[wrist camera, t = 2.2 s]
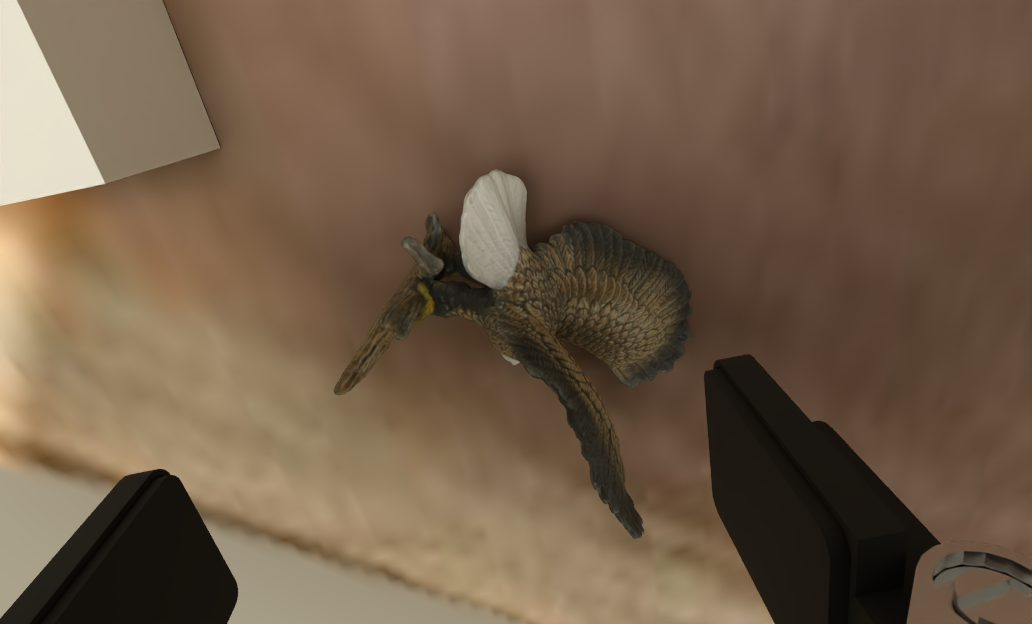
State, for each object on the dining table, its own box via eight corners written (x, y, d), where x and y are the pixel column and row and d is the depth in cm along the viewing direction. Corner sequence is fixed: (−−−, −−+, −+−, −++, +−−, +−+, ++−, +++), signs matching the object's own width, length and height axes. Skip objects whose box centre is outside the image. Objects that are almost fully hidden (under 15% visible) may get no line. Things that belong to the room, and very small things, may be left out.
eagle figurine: (356, 397, 18) (610, 528, 18) (295, 383, 11) (708, 595, 11) (469, 196, 20) (702, 317, 20) (477, 73, 13) (837, 261, 13)
